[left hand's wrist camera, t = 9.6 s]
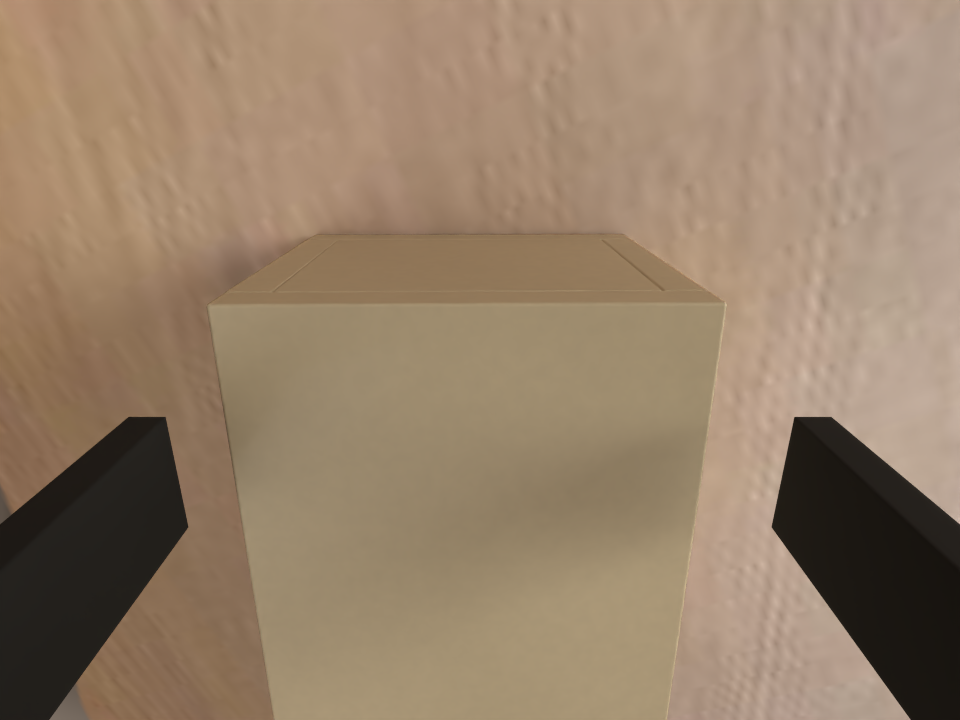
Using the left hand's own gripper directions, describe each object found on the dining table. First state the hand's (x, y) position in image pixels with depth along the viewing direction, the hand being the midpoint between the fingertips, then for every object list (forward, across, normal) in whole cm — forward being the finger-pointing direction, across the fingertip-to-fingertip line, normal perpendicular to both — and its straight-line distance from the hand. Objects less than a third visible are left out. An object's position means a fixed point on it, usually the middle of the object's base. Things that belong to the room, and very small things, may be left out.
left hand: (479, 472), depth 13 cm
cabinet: (+10, 0, -5) cm, 11 cm away
